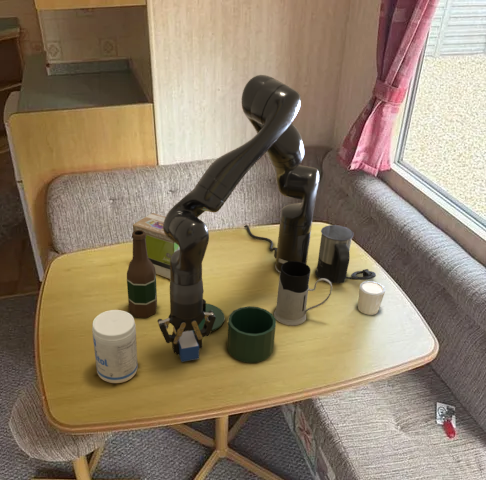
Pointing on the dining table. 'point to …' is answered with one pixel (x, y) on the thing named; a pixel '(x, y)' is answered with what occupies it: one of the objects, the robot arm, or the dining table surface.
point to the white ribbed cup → (370, 297)
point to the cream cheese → (188, 346)
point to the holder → (294, 293)
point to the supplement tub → (115, 346)
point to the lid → (217, 313)
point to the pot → (251, 334)
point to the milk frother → (337, 255)
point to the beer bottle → (141, 279)
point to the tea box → (157, 243)
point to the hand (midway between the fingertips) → (187, 350)
